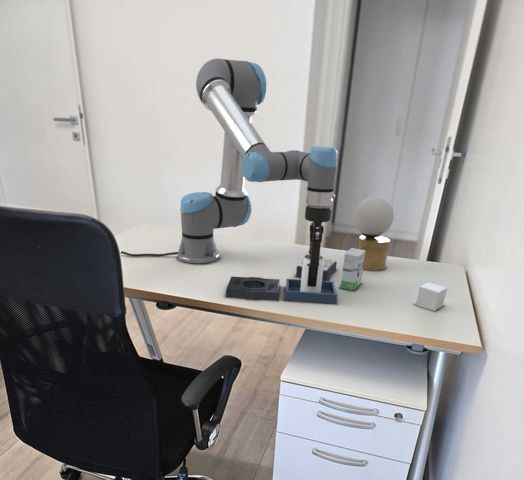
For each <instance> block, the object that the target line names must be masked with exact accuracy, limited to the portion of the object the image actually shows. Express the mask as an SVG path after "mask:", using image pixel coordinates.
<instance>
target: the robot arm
mask: <svg viewBox="0 0 524 480" xmlns="http://www.w3.org/2000/svg"><path fill="white" fill-rule="evenodd" d="M267 83H268V82H267V78H266V74H265V73H264V70H263V68H262V67H261V66H260V65H259V64H257V63H255V62H253V61H252V62H251V61H248V60H238V59H237V60H236V59H224V58H212V59H210V60H208V61H206V62H205V63H203V65H202V66H201V67H200V68H199V71H198V73H197V76H196V82H195V87H196V93H197V96H198V98H199V101H200V102H201V103H202V106H203V107H204V109H206V110H208V111H210V112H211V113H212V114H213V116H214V117H215V119H216V120H217V122H218V124H219V125H220V126H221V128H222V130H223V131H224V133H223V134H224V135H223V147H222V157H221V158H222V160H221V173H220V184H219V185H218V186H217V187H216V188H215V194H214V195H213V193H211V192H209V191H201V192H200V191H197V192H191V193H188V194H185V195H184V196H182V197H181V200H180V208H179V212H180V221H181V222H180V223H181V240H180V244H179V248H178V251H174V252H167V253H130V252H126V251H122V250H120V251H121V253H120V254H122V255H126V256H128V257H166V256H167V257H168V256H173V255H177V257H178V260H179V261H180V262H183V263H187V264H195V265H196V264H197V265H199V264H200V265H201V264H203V265H204V264H209V263H214V262H216V261H217V260H218V259H219V250H218V248H217V245H216V242H215V239H214V238H215V237H214V230H216V229H224V228H236V227H239V226H243V225H245V224H246V223H247V222H249V220H250V217H251V214H252V204H251V203H252V201H251V199H250V198H251V197H250V196H248V192H247V190H246V189H245V188H244V186H245V180H246V181H247V182H251V183H264V182H277V181H293V180H295V181H296V180H297V181H304V182H307V187H306V188H307V189H306V196H305V197H306V198H305V204H306V206H305V212H304V219H305V220H306V221H308V222H311V223H310V225H309V247H308V248H309V250H308V254H311V256H310V263H309V264H307V266H309V272H308V282H307V286H310V287H316V283H317V274H318V266H319V257H320V256H321V247H322V246H321V245H322V242H323V234H324V231H325V228H324V225H322V223H329V222H330V221H331V218H332V207H331V206H333V199H335V198H336V194H334V191H335V182H336V176H337V175H336V174H337V167H338V150H337V148H335V147H332V146H317V145H316V146H312V147H311V148H310V151H309V152H306V151H301V150H297V149H295V150H294V149H293V150H286V151H271V150H270V149H269V147H268V146H267V145H266V143H265V141H264V140H263V139H262V137H261V135H260V134H259V132H258V131H257V129H256V128H255V126H253V124H252V117H253V116H254V115H255V114H257V111H258V105H261V104H262V103H263V102H264V100H265V99H266V96H267V92H268V91H267V90H268V85H267Z"/></svg>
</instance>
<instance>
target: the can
mask: <svg viewBox="0 0 524 480" xmlns="http://www.w3.org/2000/svg"><path fill="white" fill-rule="evenodd" d="M310 256H311V254H309V253H308V254H306V255H304V258H303V260H302V262H303V265H302V276H301V277H300V280H301V288H300V292H314V293H321V285H322V276H323V267H324V262H323V259H324V256H322V255H320V257H319V266H318V274H317V283H316V287H310V286H307V282H308V272H309V266H307V264H309V263H310Z"/></svg>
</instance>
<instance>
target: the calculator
mask: <svg viewBox="0 0 524 480" xmlns="http://www.w3.org/2000/svg"><path fill="white" fill-rule="evenodd" d="M323 262H324V267H323V276H322V281H329V279H330V276H331V275H332V274H333V273H334V272H335V271H336V270H337V263H338V262H337V261H336V260H335V259H329V258H323ZM302 265H303V261H302V262H301V263H299V264H298V265H297V266H296V271H295V277H298V278H301V276H302Z"/></svg>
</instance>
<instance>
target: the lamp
mask: <svg viewBox="0 0 524 480" xmlns="http://www.w3.org/2000/svg"><path fill="white" fill-rule="evenodd" d="M394 218H395V212H394V208H393V206H392V204H391V203H390V201H388V200H387V199H386V198H384V197H382V196H376V195H375V196H369V197H366V198H365V199H363V200H362V201H361V202H360V203H359V204H358V205H357V207H356V209H355V211H354V216H353V221H354V224H355V227H356V229H357V230H358V232H360V233H361V234H362V235H360V236H359V237H358V244H357V249H360V250H365V257H364V263H363V270H365V271H373V272H374V271H375V272H376V271H382V270H384V269H385V268H386V265H387V259H388V253H389V248H390V243H391V240H390V239H389V238H388V237H385V236H382V235H383V234H385V233H386V232H387V231H388V230H389V229H390V228H391V226H392V224H393V222H394Z"/></svg>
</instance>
